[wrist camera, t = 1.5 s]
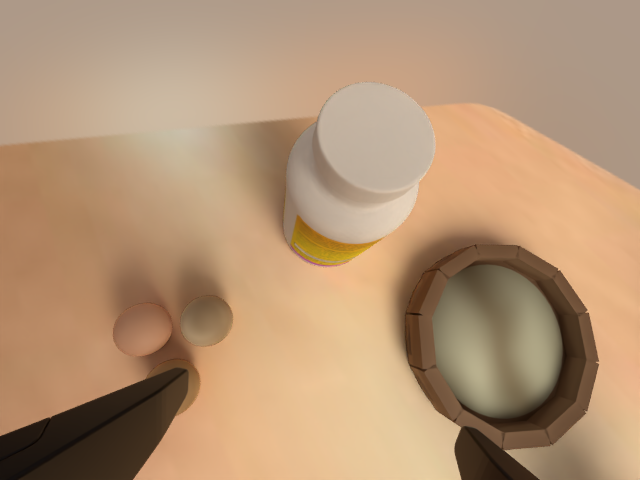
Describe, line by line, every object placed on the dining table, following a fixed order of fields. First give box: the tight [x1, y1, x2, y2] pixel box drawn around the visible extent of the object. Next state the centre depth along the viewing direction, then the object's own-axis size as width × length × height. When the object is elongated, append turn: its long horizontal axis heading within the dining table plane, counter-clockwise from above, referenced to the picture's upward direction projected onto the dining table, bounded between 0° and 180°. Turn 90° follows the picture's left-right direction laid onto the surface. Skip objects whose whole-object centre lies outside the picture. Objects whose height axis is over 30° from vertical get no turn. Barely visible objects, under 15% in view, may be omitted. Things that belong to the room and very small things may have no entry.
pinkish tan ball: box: [113, 303, 172, 356], centre depth 18 cm, size 3×3×3 cm
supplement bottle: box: [283, 82, 435, 267], centre depth 17 cm, size 7×7×13 cm
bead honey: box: [146, 359, 200, 416], centre depth 18 cm, size 3×3×3 cm
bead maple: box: [180, 295, 233, 347], centre depth 19 cm, size 3×3×3 cm
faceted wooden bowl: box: [405, 245, 599, 450], centre depth 22 cm, size 14×14×2 cm
